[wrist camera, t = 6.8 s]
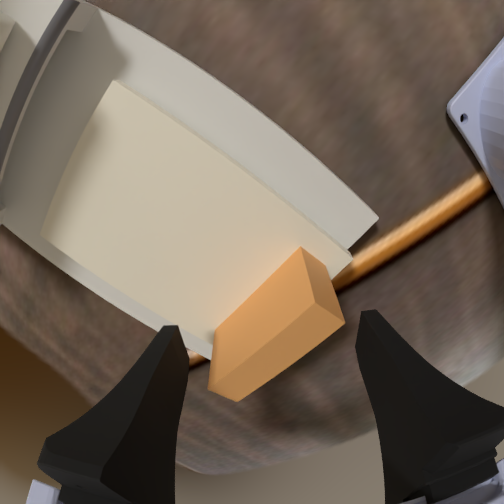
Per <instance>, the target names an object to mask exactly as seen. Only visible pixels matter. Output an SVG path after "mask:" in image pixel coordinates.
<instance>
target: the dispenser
mask: <svg viewBox="0 0 504 504" xmlns="http://www.w3.org/2000/svg"><path fill="white" fill-rule="evenodd" d="M113 80H121V81H122V82H124V83H125V84H127V85H128V86H130V87H132V88H133V89H135V90H136V91H138V92H139V93H141V94H142V95H144V96H145V97H147V98H148V99H150V100H151V101H153V102H154V103H156V104H157V105H159V106H160V107H162V108H163V109H165V110H166V111H167V112H169V113H170V114H172V115H173V116H175V117H176V118H178V119H179V120H180V121H182V122H183V123H185V124H186V125H188V126H189V127H190V128H192V129H193V130H195V131H196V132H197V133H199V134H200V135H202V136H203V137H204V138H206V139H207V140H209V141H210V142H211V143H213V144H214V145H215V146H217V147H218V148H220V149H221V150H222V151H224V152H225V153H226V154H228V155H229V156H230V157H232V158H233V159H234V160H236V161H237V162H238V163H240V164H241V165H242V166H244V167H245V168H246V169H248V170H249V171H250V172H252V173H253V174H254V175H256V176H257V177H258V178H259V179H261V180H262V181H263V182H265V183H266V184H267V185H268V186H270V187H271V188H272V189H274V190H275V191H276V192H277V193H279V194H280V195H281V196H282V197H284V198H285V199H286V200H287V201H289V202H290V203H291V204H292V205H294V206H295V207H296V208H297V209H299V210H300V211H301V212H302V213H304V214H305V215H306V216H307V217H309V218H310V219H311V220H312V221H313V222H315V223H316V224H317V225H318V226H319V227H321V228H322V229H323V230H324V231H325V232H327V233H328V234H329V235H330V236H331V237H333V238H334V239H335V240H336V241H337V242H339V243H340V244H341V245H342V246H343V247H344V248H346V249H347V250H348V249H349V248H350V247H351V246H352V245H353V244H354V243H355V242H356V241H357V240H358V239H359V238H360V237H361V236H362V235H363V234H364V233H365V232H366V231H367V230H368V229H369V228H370V227H371V226H372V225H373V224H374V223H375V222H376V221H377V220H378V219H379V217H378V216H377V215H376V214H375V212H374V211H373V210H372V209H371V208H370V207H369V206H368V205H367V204H366V203H365V202H364V201H363V200H362V199H361V198H360V197H359V196H358V195H357V194H356V193H355V192H354V191H353V190H352V189H350V188H349V187H348V186H347V185H346V184H345V183H344V182H343V181H342V180H341V179H340V178H339V177H338V176H337V175H335V174H334V173H333V172H332V171H331V170H330V169H329V168H328V167H327V166H326V165H324V164H323V163H322V162H321V161H320V160H319V159H318V158H317V157H315V156H314V155H313V154H312V153H311V152H310V151H309V150H307V149H306V148H305V147H304V146H303V145H302V144H300V143H299V142H298V141H297V140H296V139H294V138H293V137H292V136H291V135H290V134H288V133H287V132H286V131H285V130H284V129H282V128H281V127H280V126H279V125H277V124H276V123H275V122H274V121H272V120H271V119H270V118H269V117H267V116H266V115H265V114H264V113H262V112H261V111H260V110H258V109H257V108H256V107H255V106H253V105H252V104H251V103H249V102H248V101H247V100H245V99H244V98H243V97H241V96H240V95H239V94H237V93H236V92H235V91H233V90H232V89H230V88H229V87H228V86H226V85H225V84H223V83H222V82H221V81H219V80H218V79H216V78H215V77H214V76H212V75H211V74H209V73H208V72H206V71H205V70H203V69H202V68H200V67H199V66H197V65H196V64H194V63H193V62H191V61H190V60H188V59H187V58H185V57H184V56H182V55H181V54H179V53H178V52H176V51H174V50H173V49H171V48H170V47H168V46H166V45H165V44H163V43H162V42H160V41H158V40H157V39H155V38H153V37H152V36H150V35H148V34H147V33H145V32H143V31H141V30H140V29H138V28H136V27H134V26H133V25H131V24H129V23H127V22H125V21H124V20H122V19H120V18H118V17H116V16H114V15H112V14H110V13H109V12H107V11H105V10H103V9H101V8H99V7H97V6H95V5H93V4H91V3H89V2H87V1H85V0H0V225H1V224H3V225H4V226H5V227H7V228H8V229H9V230H10V231H12V232H13V233H14V234H15V235H16V236H18V237H19V238H20V239H21V240H23V241H24V242H25V243H26V244H28V245H29V246H30V247H32V248H33V249H34V250H36V251H37V252H38V253H39V254H41V255H42V256H43V257H45V258H46V259H47V260H49V261H50V262H52V263H53V264H54V265H56V266H57V267H58V268H60V269H61V270H63V271H64V272H65V273H67V274H68V275H70V276H71V277H72V278H74V279H75V280H77V281H78V282H80V283H81V284H83V285H84V286H86V287H87V288H89V289H90V290H92V291H93V292H95V293H96V294H98V295H99V296H101V297H102V298H104V299H105V300H107V301H108V302H110V303H112V304H113V305H115V306H116V307H118V308H119V309H121V310H123V311H124V312H126V313H128V314H129V315H131V316H132V317H134V318H136V319H137V320H139V321H141V322H142V323H144V324H146V325H148V326H149V327H151V328H153V329H154V330H156V331H158V332H159V331H160V329H161V328H162V327H163V326H164V325H175V324H173V323H172V322H170V321H168V320H166V319H165V318H163V317H161V316H160V315H158V314H156V313H155V312H153V311H151V310H150V309H148V308H146V307H145V306H143V305H142V304H140V303H138V302H137V301H135V300H133V299H132V298H130V297H129V296H127V295H126V294H124V293H122V292H121V291H119V290H118V289H116V288H115V287H113V286H112V285H110V284H109V283H107V282H105V281H104V280H102V279H101V278H99V277H98V276H96V275H95V274H94V273H92V272H91V271H89V270H88V269H86V268H85V267H83V266H82V265H80V264H79V263H78V262H76V261H75V260H73V259H72V258H71V257H69V256H68V255H66V254H65V253H64V252H62V251H61V250H59V249H58V248H57V247H55V246H54V245H53V244H51V243H50V242H49V241H47V240H46V239H45V238H43V237H42V236H41V235H40V232H41V229H42V227H43V224H44V221H45V218H46V215H47V213H48V210H49V207H50V205H51V202H52V199H53V197H54V194H55V192H56V189H57V187H58V185H59V182H60V180H61V178H62V175H63V173H64V171H65V168H66V166H67V164H68V162H69V160H70V158H71V155H72V153H73V151H74V149H75V147H76V145H77V143H78V141H79V139H80V137H81V135H82V133H83V131H84V129H85V127H86V125H87V124H88V122H89V120H90V118H91V116H92V114H93V113H94V111H95V109H96V107H97V106H98V104H99V102H100V100H101V99H102V97H103V95H104V94H105V92H106V90H107V89H108V87H109V85H110V84H111V82H112V81H113ZM178 327H179V326H178ZM179 330H180V333H181V336H182V339H183V342H184V345H185V347H187V348H189V349H190V350H192V351H194V352H196V353H198V354H200V355H202V356H204V357H206V358H208V359H210V360H211V357H212V348H213V345H211V344H209V343H207V342H206V341H204V340H202V339H200V338H198V337H196V336H195V335H193V334H191V333H189V332H187V331H186V330H184V329H182V328H180V327H179Z"/></svg>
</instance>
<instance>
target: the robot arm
mask: <svg viewBox="0 0 504 504" xmlns="http://www.w3.org/2000/svg"><path fill="white" fill-rule="evenodd" d="M447 113H448V115H449V117H450V118H451V120H452V121H453V123H454V124H455V126H456V127H457V129H458V130H459V132H460V133H461V135H462V136H463V138H464V139H465V141H466V142H467V144H468V145H469V147H470V148H471V150H472V152H473V153H474V155H475V157H476V158H477V160H478V162H479V163H480V165H481V167H482V168H483V170H484V172H485V174H486V176H487V177H488V179H489V181H490V183H491V185H492V187H493V188H494V190H495V192H496V194H497V196H498V198H499V200H500V202H501V204H502V206H503V208H504V37H503V39H502V40H501V41H500V42H499V44H498V45H497V46H496V47H495V48H494V50H493V51H492V52H491V53H490V54H489V56H488V57H487V58H486V59H485V60H484V62H483V63H482V64H481V65H480V66H479V68H478V69H477V70H476V71H475V72H474V73H473V75H472V76H471V77H470V78H469V79H468V80H467V82H466V83H465V84H464V85H463V86H462V87H461V89H460V90H459V91H458V92H457V93H456V94H455V95H454V97H453V98H452V99H451V100H450V101H449V103H448V104H447ZM461 114H463V116H464V120H463V122H461V121H460V116H461ZM355 348H356V353H357V358H358V363H359V367H360V371H361V374H362V377H363V380H364V383H365V386H366V389H367V392H368V395H369V398H370V401H371V405H372V408H373V411H374V414H375V418H376V422H377V428H378V434H379V439H380V446H381V453H382V461H383V470H384V482H385V484H384V485H385V504H504V458H503V459H501V460H499V461H498V462H497V463H496V462H495V459H494V457H496V456H497V452H496V449H495V447H496V446H497V445H498V444H499V443H500V442H501V441H502V440H503V439H504V407H502V406H499V405H497V404H495V403H492V402H490V401H487V400H485V399H483V398H481V397H479V396H477V395H476V394H474V393H472V392H470V391H468V390H467V389H465V388H463V387H462V386H460V385H458V384H457V383H455V382H454V381H452V380H451V379H449V378H448V377H446V376H445V375H444V374H442V373H441V372H440V371H438V370H437V369H436V368H434V367H433V366H432V365H431V364H430V363H428V362H427V361H426V360H425V359H424V358H423V357H422V356H421V355H419V354H418V353H417V352H416V351H415V350H414V349H413V348H412V347H411V346H410V345H409V344H408V343H407V342H406V341H405V340H404V339H403V338H402V337H401V336H400V335H399V334H398V333H397V332H396V331H395V329H394V328H393V327H392V326H391V325H390V324H389V323H388V322H387V321H386V320H385V319H384V318H383V316H382V315H381V314H380V313H379V312H378V311H377V310H376V309H375V310H367V311H361V317H360V323H359V329H358V334H357V340H356V345H355ZM188 372H189V356H188V353H187V350H186V347H185V345H184V342H183V339H182V336H181V333H180V330H179V327H178V325H164V326H163V327H162V328H161V329H160V331H159V332H158V333H157V335H156V336H155V338H154V339H153V340H152V342H151V343H150V344H149V346H148V347H147V349H146V350H145V351H144V353H143V354H142V355H141V356H140V358H139V359H138V360H137V362H136V363H135V364H134V365H133V367H132V368H131V369H130V370H129V371H128V373H127V374H126V375H125V376H124V377H123V379H122V380H121V381H120V382H119V383H118V384H117V385H116V386H115V387H114V388H113V389H112V390H111V391H110V392H109V393H108V394H107V395H106V396H105V397H104V398H103V399H102V400H101V401H100V402H99V403H97V404H96V405H95V406H94V407H93V408H91V409H90V410H89V411H88V412H87V413H85V414H84V415H83V416H81V417H80V418H79V419H77V420H76V421H74V422H73V423H71V424H70V425H68V426H67V427H65V428H63V429H62V430H60V431H58V432H56V433H55V434H53V435H51V436H49V437H47V438H46V440H45V443H44V445H43V448H42V451H41V453H40V456H39V460H38V462H37V465H38V467H39V468H40V469H41V470H42V471H43V472H44V473H46V474H47V475H48V476H50V477H51V478H53V479H54V480H56V481H57V482H59V483H60V484H62V487H61V490H59V489H57V488H55V487H52V486H50V485H47V484H45V483H42V482H40V481H37V480H35V479H34V480H33V481H32V484H31V488H30V491H29V495H28V498H27V502H26V504H175V455H176V441H177V431H178V425H179V420H180V415H181V411H182V406H183V401H184V396H185V391H186V387H187V382H188Z"/></svg>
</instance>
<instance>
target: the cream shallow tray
mask: <svg viewBox="0 0 504 504" xmlns="http://www.w3.org/2000/svg"><path fill="white" fill-rule="evenodd" d="M40 235H41V236H42V237H43V238H45V239H46V240H47V241H49V242H50V243H51V244H53V245H54V246H55V247H57V248H58V249H59V250H61V251H62V252H64V253H65V254H66V255H68V256H69V257H71V258H72V259H73V260H75V261H76V262H78V263H79V264H80V265H82V266H83V267H85V268H86V269H88V270H89V271H91V272H92V273H94V274H95V275H96V276H98V277H99V278H101V279H102V280H104V281H105V282H107V283H109V284H110V285H112V286H113V287H115V288H116V289H118V290H119V291H121V292H122V293H124V294H126V295H127V296H129V297H130V298H132V299H133V300H135V301H137V302H138V303H140V304H142V305H143V306H145V307H146V308H148V309H150V310H151V311H153V312H155V313H156V314H158V315H160V316H161V317H163V318H165V319H166V320H168V321H170V322H172V323H173V324H175V325H178V326H179V327H180V328H182V329H184V330H186V331H187V332H189V333H191V334H193V335H195V336H196V337H198V338H200V339H202V340H204V341H206V342H207V343H209V344H211V345H213V348H212V357H211V365H210V374H209V383H208V390H210V391H213V392H215V393H217V394H219V395H222V396H224V397H226V398H229V399H231V400H233V401H236V402H238V401H239V400H241V399H242V398H244V397H245V396H247V395H248V394H250V393H252V392H253V391H254V390H256V389H257V388H259V387H260V386H262V385H263V384H265V383H266V382H268V381H269V380H271V379H272V378H273V377H275V376H276V375H278V374H279V373H281V372H282V371H283V370H285V369H286V368H287V367H289V366H290V365H292V364H293V363H294V362H296V361H297V360H298V359H300V358H301V357H302V356H304V355H305V354H306V353H308V352H309V351H310V350H312V349H313V348H314V347H316V346H317V345H318V344H320V343H321V342H322V341H323V340H325V339H326V338H327V337H329V336H330V335H331V334H332V333H334V332H335V331H336V330H337V329H339V328H340V327H341V326H342V325H343V324H345V320H344V317H343V314H342V311H341V308H340V305H339V303H338V300H337V297H336V294H335V291H334V288H333V285H332V282H331V280H332V279H333V278H334V277H335V276H336V275H337V274H338V273H339V272H340V271H341V270H342V269H343V268H344V267H346V266H347V265H348V264H349V263H350V262H351V261H352V260H353V257H352V255H351V253H350V252H349V251H348V250H347V249H346V248H344V247H343V246H342V245H341V244H340V243H339V242H337V241H336V240H335V239H334V238H333V237H331V236H330V235H329V234H328V233H327V232H325V231H324V230H323V229H322V228H321V227H319V226H318V225H317V224H316V223H315V222H313V221H312V220H311V219H310V218H309V217H307V216H306V215H305V214H304V213H302V212H301V211H300V210H299V209H297V208H296V207H295V206H294V205H292V204H291V203H290V202H289V201H287V200H286V199H285V198H284V197H282V196H281V195H280V194H279V193H277V192H276V191H275V190H274V189H272V188H271V187H270V186H268V185H267V184H266V183H265V182H263V181H262V180H261V179H259V178H258V177H257V176H256V175H254V174H253V173H252V172H250V171H249V170H248V169H246V168H245V167H244V166H242V165H241V164H240V163H238V162H237V161H236V160H234V159H233V158H232V157H230V156H229V155H228V154H226V153H225V152H224V151H222V150H221V149H220V148H218V147H217V146H215V145H214V144H213V143H211V142H210V141H209V140H207V139H206V138H204V137H203V136H202V135H200V134H199V133H197V132H196V131H195V130H193V129H192V128H190V127H189V126H188V125H186V124H185V123H183V122H182V121H180V120H179V119H178V118H176V117H175V116H173V115H172V114H170V113H169V112H167V111H166V110H165V109H163V108H162V107H160V106H159V105H157V104H156V103H154V102H153V101H151V100H150V99H148V98H147V97H145V96H144V95H142V94H141V93H139V92H138V91H136V90H135V89H133V88H132V87H130V86H128V85H127V84H125V83H124V82H122V81H121V80H113V81H112V82H111V84H110V85H109V87H108V89H107V90H106V92H105V94H104V95H103V97H102V99H101V100H100V102H99V104H98V106H97V107H96V109H95V111H94V113H93V114H92V116H91V118H90V120H89V122H88V124H87V125H86V127H85V129H84V131H83V133H82V135H81V137H80V139H79V141H78V143H77V145H76V147H75V149H74V151H73V153H72V155H71V158H70V160H69V162H68V164H67V166H66V168H65V171H64V173H63V175H62V178H61V180H60V182H59V185H58V187H57V189H56V192H55V194H54V197H53V199H52V202H51V205H50V207H49V210H48V213H47V215H46V218H45V221H44V224H43V227H42V229H41V232H40Z"/></svg>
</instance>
